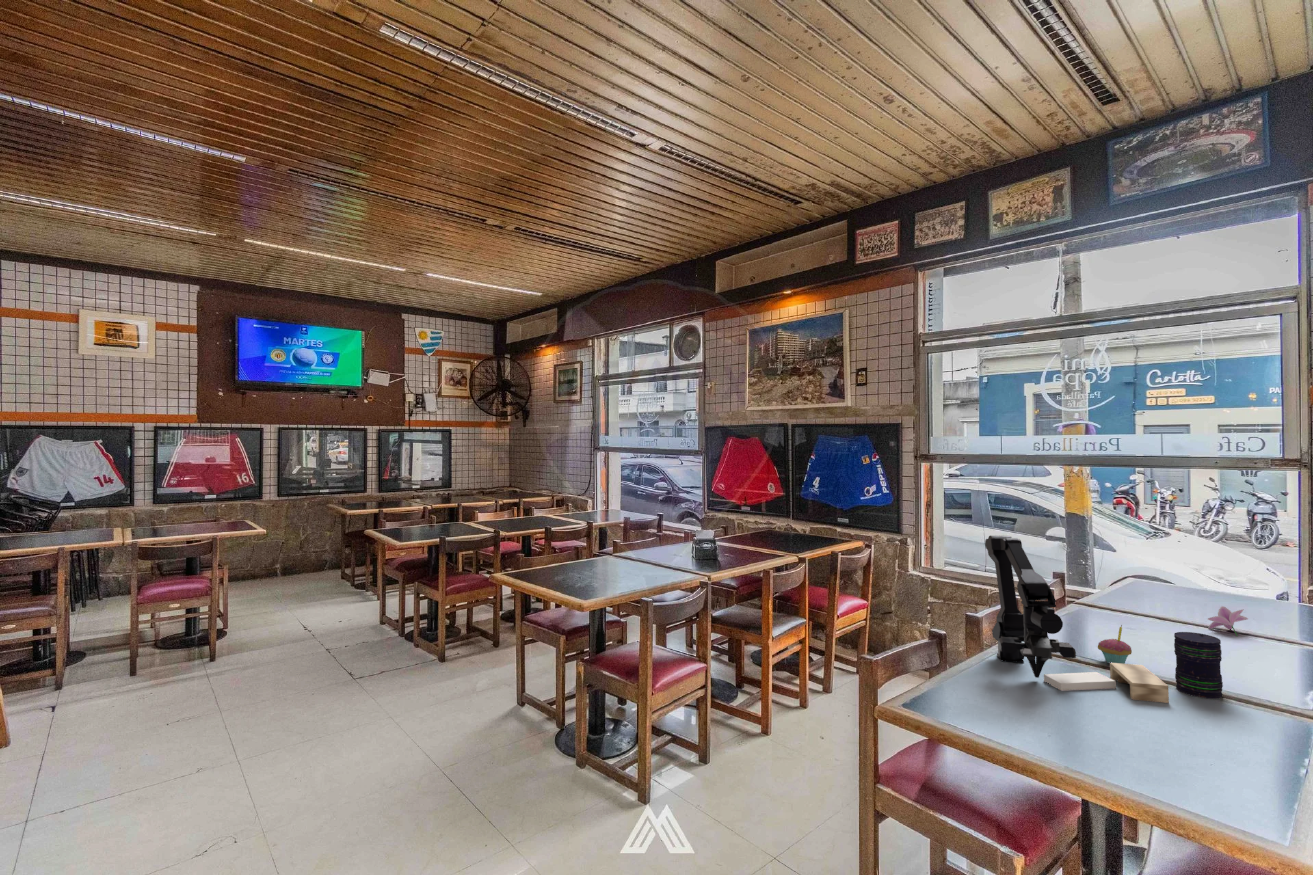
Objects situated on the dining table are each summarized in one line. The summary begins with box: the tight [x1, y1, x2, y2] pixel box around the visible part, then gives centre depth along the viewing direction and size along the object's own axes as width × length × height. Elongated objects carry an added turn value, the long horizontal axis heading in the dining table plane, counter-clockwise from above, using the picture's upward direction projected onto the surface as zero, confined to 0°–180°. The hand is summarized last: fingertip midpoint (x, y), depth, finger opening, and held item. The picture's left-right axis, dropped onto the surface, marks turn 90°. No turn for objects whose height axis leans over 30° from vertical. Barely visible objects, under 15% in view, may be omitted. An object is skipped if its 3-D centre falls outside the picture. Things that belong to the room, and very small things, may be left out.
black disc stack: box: [1173, 631, 1224, 700], centre depth 169 cm, size 10×10×15 cm
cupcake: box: [1097, 624, 1133, 664], centre depth 193 cm, size 9×8×12 cm
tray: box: [1043, 671, 1117, 692], centre depth 176 cm, size 16×7×2 cm, turn 93°
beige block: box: [1109, 663, 1170, 704], centre depth 171 cm, size 8×16×4 cm, turn 161°
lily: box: [1207, 605, 1249, 637], centre depth 219 cm, size 12×12×10 cm
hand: (1036, 677), depth 179 cm, fingers closed
